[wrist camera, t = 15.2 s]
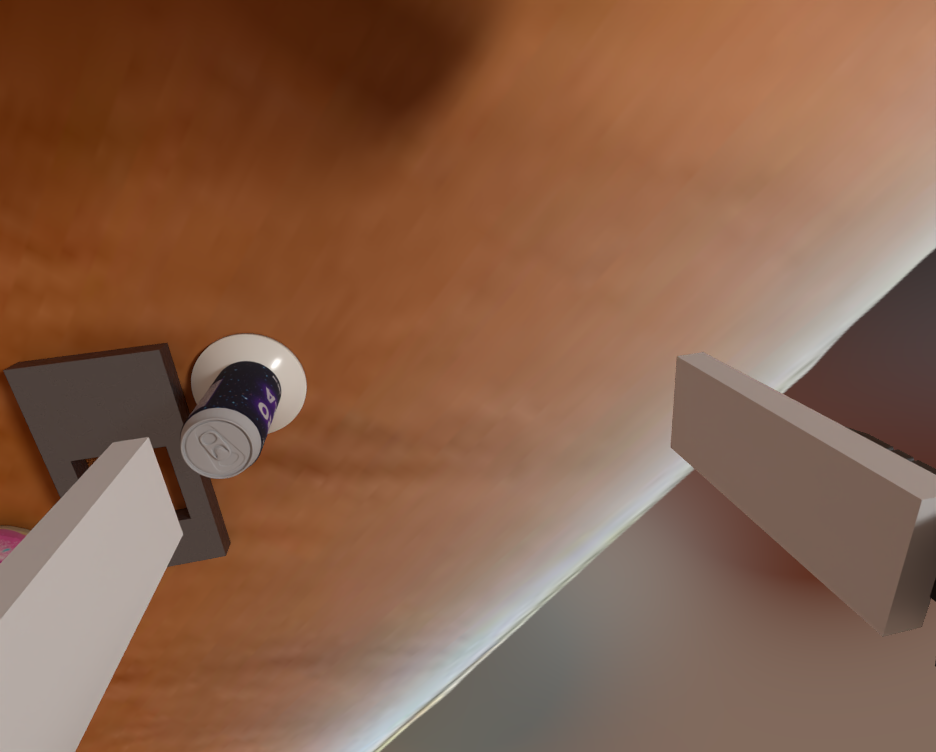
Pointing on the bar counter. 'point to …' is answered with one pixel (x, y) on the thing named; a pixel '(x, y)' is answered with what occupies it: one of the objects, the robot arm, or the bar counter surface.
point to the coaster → (259, 352)
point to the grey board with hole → (117, 426)
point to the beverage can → (231, 421)
